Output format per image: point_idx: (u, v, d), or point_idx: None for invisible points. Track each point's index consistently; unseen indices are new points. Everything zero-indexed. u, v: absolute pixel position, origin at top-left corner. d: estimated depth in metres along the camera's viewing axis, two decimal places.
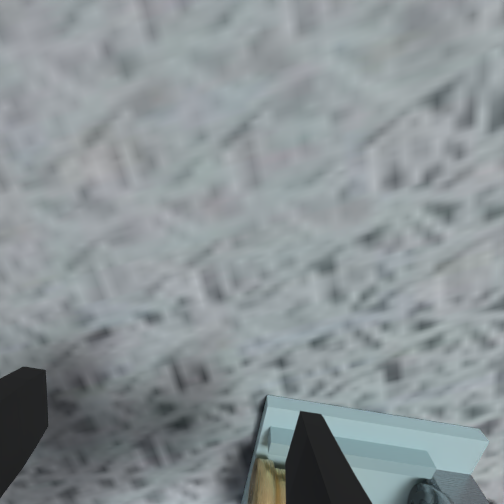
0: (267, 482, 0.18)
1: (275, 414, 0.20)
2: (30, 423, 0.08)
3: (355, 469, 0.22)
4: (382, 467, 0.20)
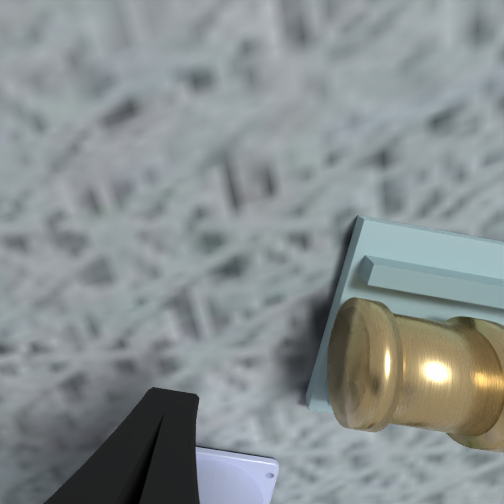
0: (378, 308, 0.12)
1: (374, 233, 0.14)
2: None
3: None
4: None
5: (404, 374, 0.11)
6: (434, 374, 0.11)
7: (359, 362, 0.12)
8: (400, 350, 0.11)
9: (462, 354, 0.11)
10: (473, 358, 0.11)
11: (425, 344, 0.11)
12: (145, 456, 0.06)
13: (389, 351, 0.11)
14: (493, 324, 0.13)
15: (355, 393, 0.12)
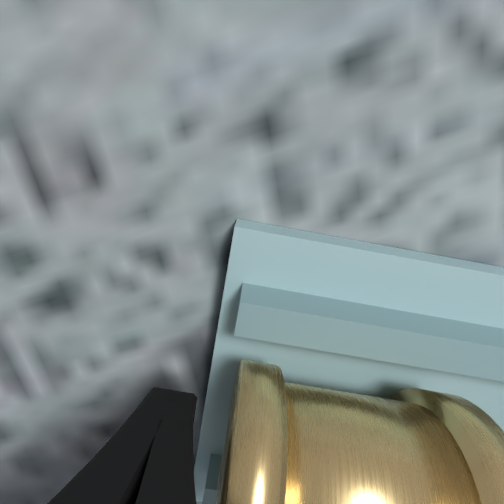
0: (263, 394, 0.07)
1: (253, 249, 0.09)
2: None
3: None
4: None
5: None
6: None
7: (223, 497, 0.06)
8: (281, 500, 0.05)
9: (410, 491, 0.06)
10: (430, 499, 0.06)
11: (341, 470, 0.06)
12: (148, 457, 0.06)
13: (257, 502, 0.05)
14: (473, 415, 0.07)
15: None
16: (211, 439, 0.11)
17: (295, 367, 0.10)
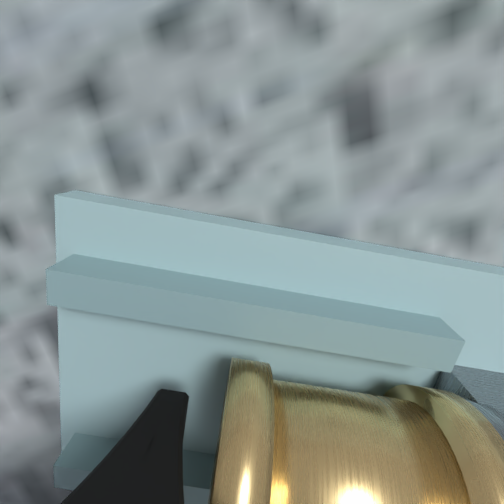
0: (251, 392, 0.07)
1: (78, 218, 0.08)
2: None
3: (281, 367, 0.10)
4: (331, 340, 0.08)
5: None
6: None
7: (211, 495, 0.06)
8: (266, 498, 0.05)
9: (398, 488, 0.06)
10: (418, 496, 0.06)
11: (328, 468, 0.06)
12: None
13: (242, 500, 0.05)
14: (463, 411, 0.07)
15: None
16: (73, 418, 0.11)
17: (142, 342, 0.10)
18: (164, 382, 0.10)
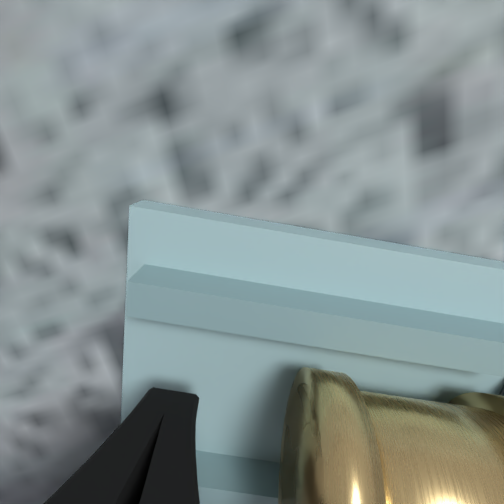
0: (344, 405, 0.07)
1: (151, 229, 0.08)
2: None
3: None
4: (411, 349, 0.08)
5: None
6: None
7: None
8: None
9: (503, 500, 0.06)
10: None
11: (432, 481, 0.06)
12: (145, 456, 0.06)
13: None
14: None
15: None
16: None
17: (208, 351, 0.10)
18: (227, 390, 0.10)
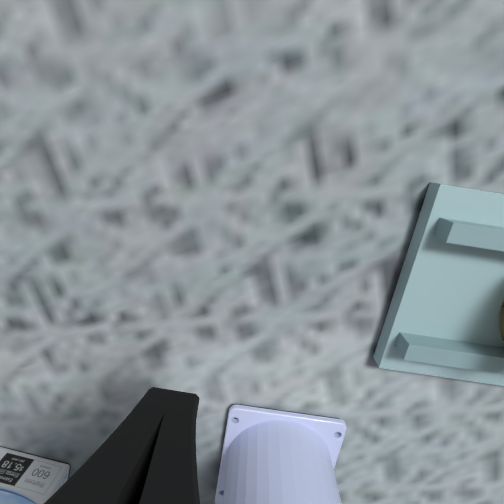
0: None
1: (449, 197, 0.15)
2: None
3: None
4: None
5: None
6: None
7: None
8: None
9: None
10: None
11: None
12: (145, 456, 0.06)
13: None
14: None
15: None
16: (402, 322, 0.18)
17: (462, 270, 0.17)
18: (467, 295, 0.17)
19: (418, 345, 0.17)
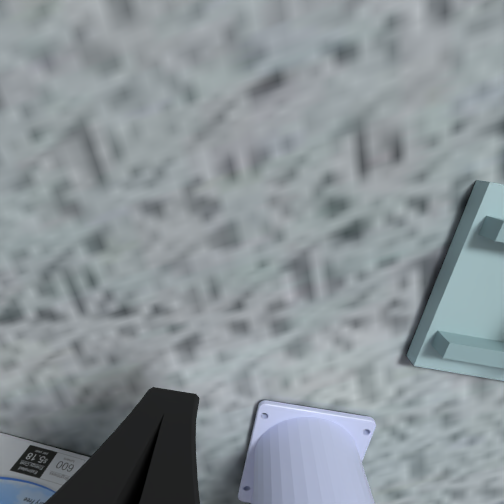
0: None
1: (497, 195, 0.15)
2: None
3: None
4: None
5: None
6: None
7: None
8: None
9: None
10: None
11: None
12: (145, 456, 0.06)
13: None
14: None
15: None
16: (440, 320, 0.17)
17: None
18: None
19: (458, 344, 0.17)
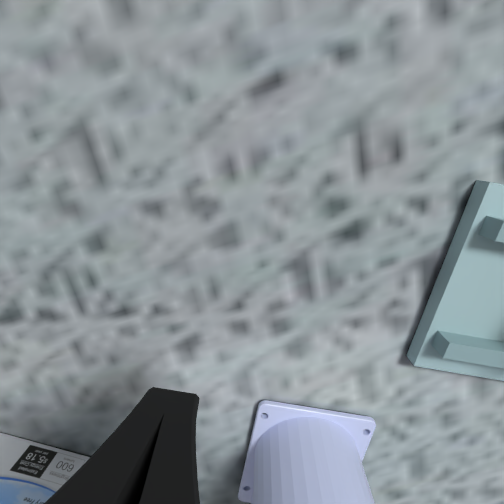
0: None
1: (497, 195, 0.15)
2: None
3: None
4: None
5: None
6: None
7: None
8: None
9: None
10: None
11: None
12: (145, 456, 0.06)
13: None
14: None
15: None
16: (440, 320, 0.17)
17: None
18: None
19: (458, 344, 0.17)
